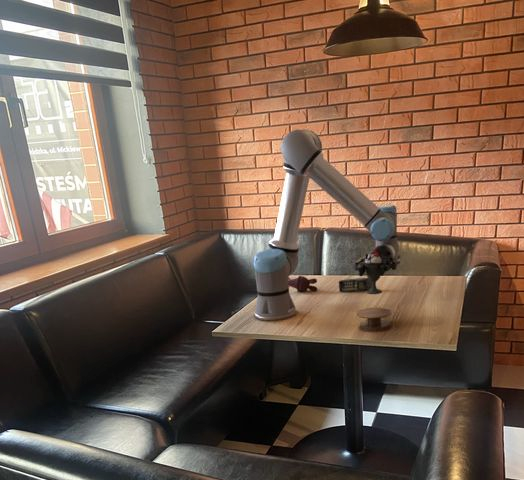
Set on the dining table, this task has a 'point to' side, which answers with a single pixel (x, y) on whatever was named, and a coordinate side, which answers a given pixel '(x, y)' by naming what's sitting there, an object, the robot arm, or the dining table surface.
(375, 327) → the stand
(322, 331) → the dining table surface
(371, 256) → the sundae
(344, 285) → the mobile phone
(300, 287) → the chocolate bunny
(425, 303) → the dining table surface
